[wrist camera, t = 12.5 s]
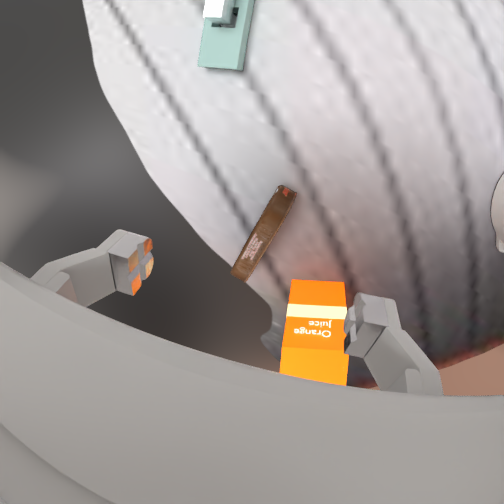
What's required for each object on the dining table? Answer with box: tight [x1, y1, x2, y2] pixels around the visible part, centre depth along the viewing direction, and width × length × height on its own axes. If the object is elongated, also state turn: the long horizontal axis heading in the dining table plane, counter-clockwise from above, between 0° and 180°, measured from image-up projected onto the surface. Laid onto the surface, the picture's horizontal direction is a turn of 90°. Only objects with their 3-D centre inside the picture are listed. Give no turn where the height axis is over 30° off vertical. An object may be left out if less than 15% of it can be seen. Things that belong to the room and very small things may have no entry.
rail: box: [198, 0, 255, 71], centre depth 24 cm, size 5×20×3 cm, turn 171°
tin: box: [230, 185, 297, 283], centre depth 39 cm, size 15×3×8 cm, turn 155°
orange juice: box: [280, 280, 349, 386], centre depth 40 cm, size 8×9×20 cm
